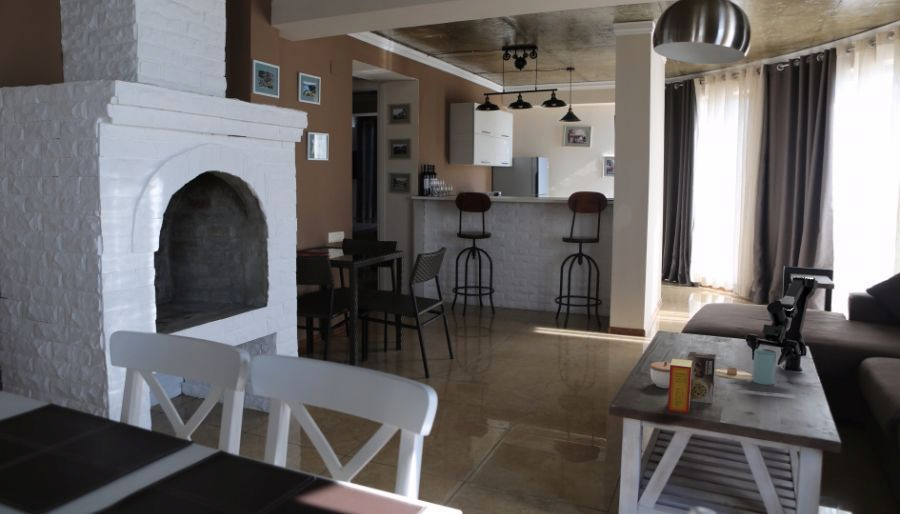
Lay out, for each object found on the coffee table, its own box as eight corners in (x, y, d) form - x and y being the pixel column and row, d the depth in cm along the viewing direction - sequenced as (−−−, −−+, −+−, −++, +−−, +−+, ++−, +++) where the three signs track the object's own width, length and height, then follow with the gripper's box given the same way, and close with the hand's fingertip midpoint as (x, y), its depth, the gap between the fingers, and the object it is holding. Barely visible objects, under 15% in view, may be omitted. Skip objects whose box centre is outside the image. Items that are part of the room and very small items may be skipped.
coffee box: (714, 399, 245) (717, 354, 243) (712, 404, 239) (715, 358, 237) (687, 395, 249) (689, 351, 247) (684, 400, 243) (687, 355, 241)
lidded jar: (681, 391, 254) (682, 366, 253) (650, 388, 256) (651, 364, 255) (677, 382, 264) (678, 358, 263) (648, 380, 266) (649, 356, 265)
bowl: (726, 372, 275) (727, 365, 275) (736, 373, 274) (736, 366, 274) (727, 374, 272) (727, 368, 272) (737, 375, 271) (737, 369, 271)
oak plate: (710, 370, 283) (710, 367, 283) (750, 373, 278) (750, 370, 278) (712, 380, 268) (712, 377, 268) (754, 384, 264) (754, 381, 264)
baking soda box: (669, 402, 240) (672, 357, 239) (689, 405, 238) (692, 359, 236) (667, 410, 232) (670, 363, 230) (688, 413, 229) (691, 366, 227)
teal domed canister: (751, 381, 268) (753, 348, 267) (772, 383, 266) (774, 349, 264) (753, 386, 261) (755, 352, 260) (774, 388, 259) (777, 354, 258)
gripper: (748, 313, 272) (735, 345, 265) (799, 320, 259) (787, 354, 252) (754, 330, 278) (742, 362, 271) (805, 338, 265) (793, 371, 259)
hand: (765, 362), depth 263 cm, fingers open, 9 cm apart
